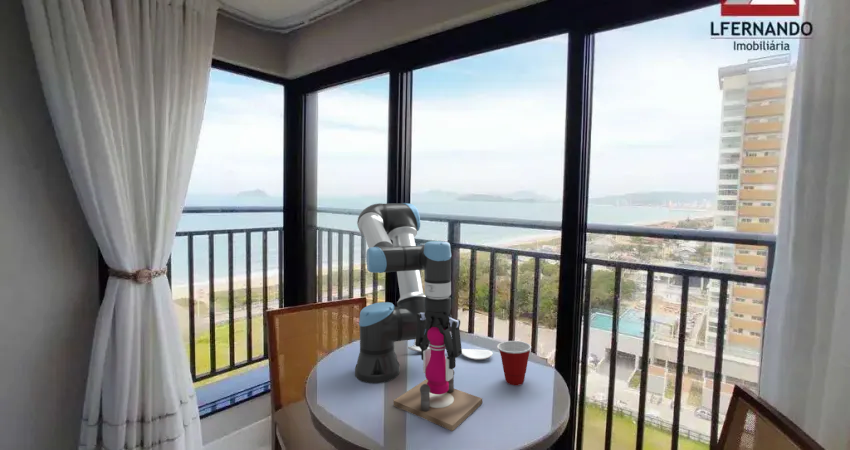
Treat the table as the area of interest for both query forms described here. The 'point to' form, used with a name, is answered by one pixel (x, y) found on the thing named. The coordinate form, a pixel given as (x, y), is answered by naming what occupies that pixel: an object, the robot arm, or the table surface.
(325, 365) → the table surface
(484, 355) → the spoon
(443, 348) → the pepper mill
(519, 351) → the plastic cup
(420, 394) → the holder
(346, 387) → the table surface
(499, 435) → the table surface
